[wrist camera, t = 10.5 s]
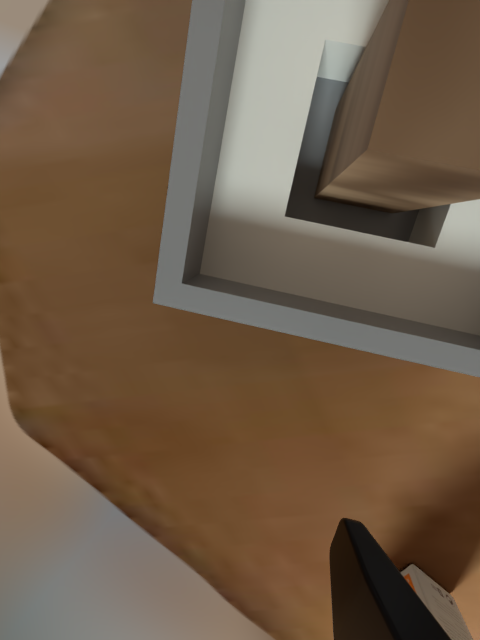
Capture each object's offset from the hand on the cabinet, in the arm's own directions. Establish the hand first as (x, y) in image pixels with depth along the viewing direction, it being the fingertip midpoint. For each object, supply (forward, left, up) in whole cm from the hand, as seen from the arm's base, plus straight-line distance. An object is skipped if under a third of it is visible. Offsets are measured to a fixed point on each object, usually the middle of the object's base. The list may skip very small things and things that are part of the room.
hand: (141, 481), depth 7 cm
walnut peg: (+5, -10, -12) cm, 16 cm away
